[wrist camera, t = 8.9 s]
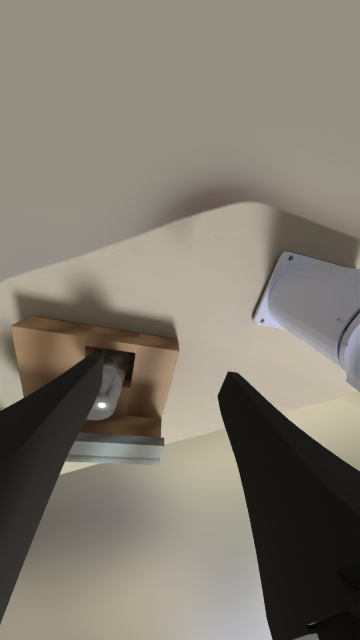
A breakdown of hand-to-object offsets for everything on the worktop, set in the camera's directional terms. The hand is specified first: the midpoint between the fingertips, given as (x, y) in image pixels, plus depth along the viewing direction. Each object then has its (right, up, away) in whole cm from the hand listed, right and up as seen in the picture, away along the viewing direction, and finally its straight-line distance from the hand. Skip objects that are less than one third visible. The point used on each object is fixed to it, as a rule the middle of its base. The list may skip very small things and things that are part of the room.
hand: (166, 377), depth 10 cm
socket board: (-9, -3, +12) cm, 15 cm away
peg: (-7, -1, +11) cm, 13 cm away
